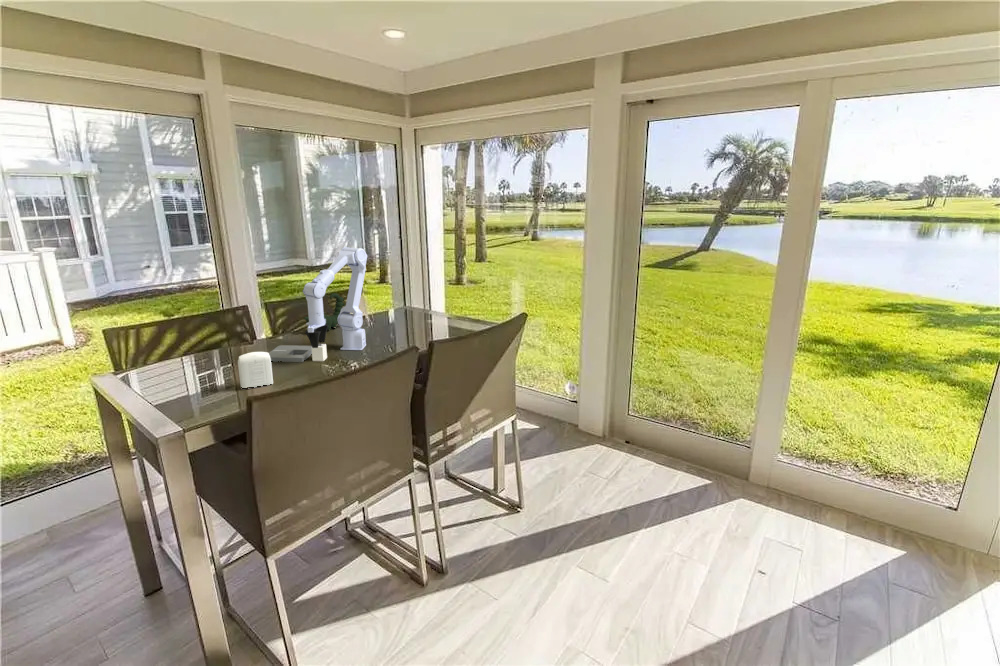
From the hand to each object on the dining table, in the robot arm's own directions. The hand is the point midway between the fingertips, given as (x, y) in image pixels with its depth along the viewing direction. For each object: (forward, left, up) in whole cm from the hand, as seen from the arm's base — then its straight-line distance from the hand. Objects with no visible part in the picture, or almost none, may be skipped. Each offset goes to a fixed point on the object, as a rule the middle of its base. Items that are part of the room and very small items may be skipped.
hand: (318, 344), depth 189 cm
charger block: (0, 0, -6) cm, 6 cm away
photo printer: (+11, +29, -7) cm, 32 cm away
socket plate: (+13, -4, -6) cm, 15 cm away
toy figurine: (+12, -44, -7) cm, 46 cm away
